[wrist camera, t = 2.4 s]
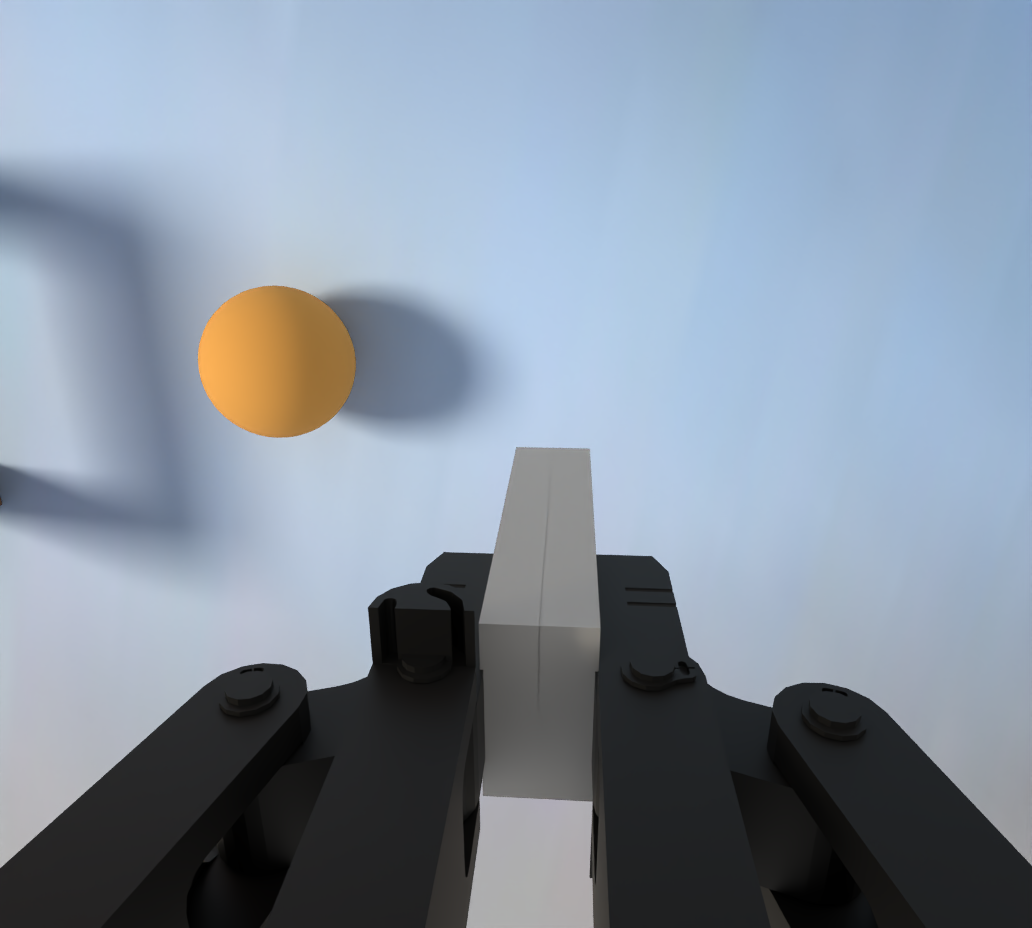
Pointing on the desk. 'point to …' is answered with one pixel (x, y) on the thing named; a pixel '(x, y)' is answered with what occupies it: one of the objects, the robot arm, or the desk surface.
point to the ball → (276, 361)
